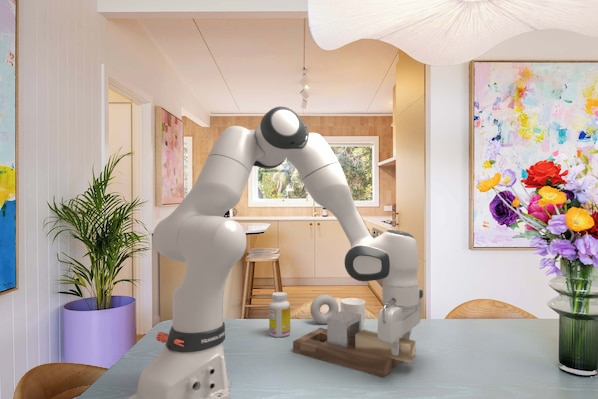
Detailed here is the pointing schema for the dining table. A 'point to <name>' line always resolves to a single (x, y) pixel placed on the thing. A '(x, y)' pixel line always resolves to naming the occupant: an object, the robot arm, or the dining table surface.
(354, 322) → the tunnel
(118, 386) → the dining table surface
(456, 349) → the dining table surface
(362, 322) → the white cup
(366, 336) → the gold bar
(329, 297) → the donut
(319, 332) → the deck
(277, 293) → the supplement bottle
